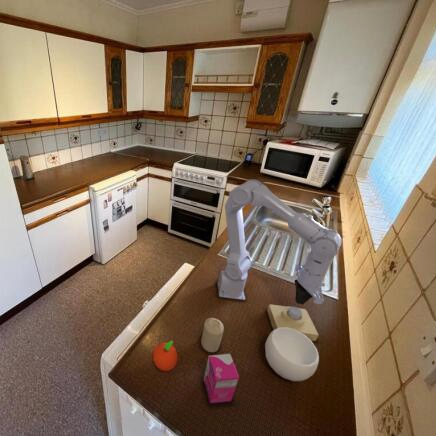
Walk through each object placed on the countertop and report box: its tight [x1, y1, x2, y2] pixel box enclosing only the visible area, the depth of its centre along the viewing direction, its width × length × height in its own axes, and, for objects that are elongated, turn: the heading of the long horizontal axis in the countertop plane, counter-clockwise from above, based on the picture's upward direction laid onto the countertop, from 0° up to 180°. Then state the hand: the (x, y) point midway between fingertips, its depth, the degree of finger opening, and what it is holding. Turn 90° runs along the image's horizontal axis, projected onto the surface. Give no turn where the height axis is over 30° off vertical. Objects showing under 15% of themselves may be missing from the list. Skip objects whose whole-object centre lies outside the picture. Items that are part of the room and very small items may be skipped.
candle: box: [200, 317, 225, 353], centre depth 71 cm, size 6×6×10 cm
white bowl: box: [264, 327, 320, 382], centre depth 66 cm, size 12×12×10 cm
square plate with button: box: [266, 303, 319, 342], centre depth 79 cm, size 12×10×5 cm
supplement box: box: [203, 353, 240, 404], centre depth 60 cm, size 6×6×12 cm
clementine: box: [152, 340, 178, 372], centre depth 67 cm, size 8×7×7 cm
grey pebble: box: [288, 306, 302, 320], centre depth 78 cm, size 4×4×2 cm
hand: (299, 302), depth 75 cm, fingers closed
